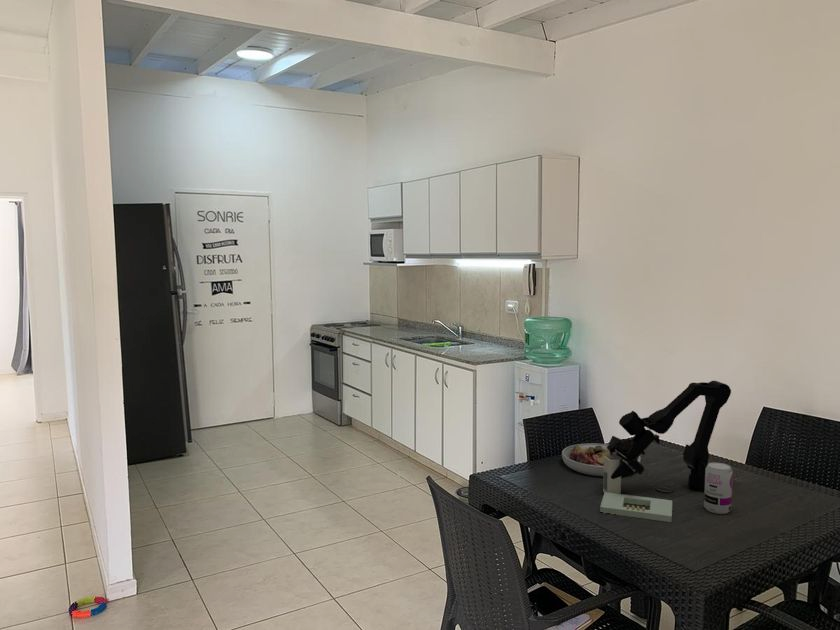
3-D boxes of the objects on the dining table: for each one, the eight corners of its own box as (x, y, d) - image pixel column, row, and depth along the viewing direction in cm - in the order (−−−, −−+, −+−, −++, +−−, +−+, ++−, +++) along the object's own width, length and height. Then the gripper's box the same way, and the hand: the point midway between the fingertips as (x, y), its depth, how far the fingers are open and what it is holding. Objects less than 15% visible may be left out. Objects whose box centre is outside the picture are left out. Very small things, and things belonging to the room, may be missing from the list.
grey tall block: (614, 491, 241) (615, 454, 240) (620, 495, 237) (621, 458, 235) (601, 492, 240) (602, 454, 239) (606, 496, 236) (607, 458, 235)
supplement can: (729, 506, 227) (731, 463, 225) (732, 516, 219) (734, 471, 217) (703, 503, 229) (705, 460, 228) (704, 512, 222) (706, 468, 220)
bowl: (589, 450, 290) (589, 432, 289) (654, 467, 268) (655, 447, 267) (546, 466, 269) (546, 446, 269) (613, 485, 247) (613, 464, 247)
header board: (672, 506, 227) (672, 497, 227) (671, 522, 214) (671, 512, 214) (604, 497, 235) (604, 488, 235) (600, 512, 222) (600, 503, 222)
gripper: (612, 421, 246) (582, 452, 245) (636, 436, 228) (604, 469, 227) (632, 441, 248) (602, 472, 247) (657, 457, 230) (626, 491, 229)
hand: (608, 475), depth 238 cm, fingers closed on grey tall block, 4 cm apart
